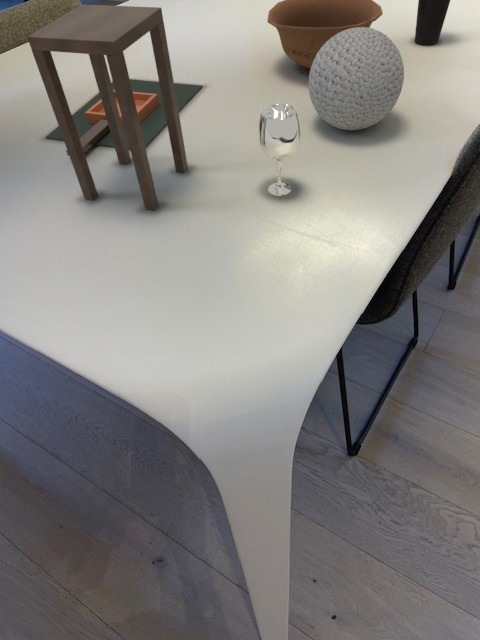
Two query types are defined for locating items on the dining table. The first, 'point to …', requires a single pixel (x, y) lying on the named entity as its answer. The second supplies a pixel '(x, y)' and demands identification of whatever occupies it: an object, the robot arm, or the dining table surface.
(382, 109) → the decorative ball
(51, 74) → the stand
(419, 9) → the drinking cup
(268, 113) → the wineglass
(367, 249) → the dining table surface
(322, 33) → the bowl
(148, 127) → the place mat
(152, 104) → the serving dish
